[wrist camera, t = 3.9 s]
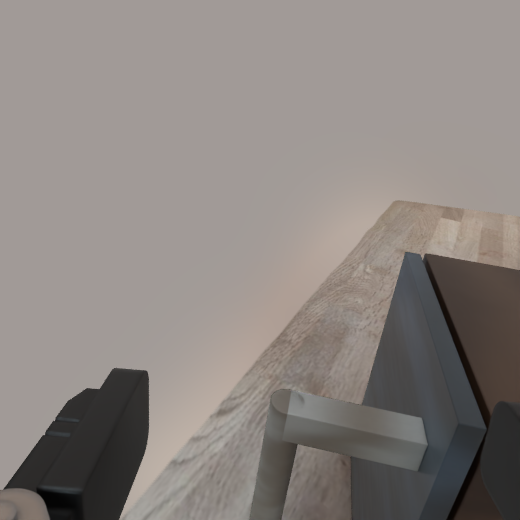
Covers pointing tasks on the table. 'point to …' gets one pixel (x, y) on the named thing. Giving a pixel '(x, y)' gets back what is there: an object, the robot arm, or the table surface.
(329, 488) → the table surface
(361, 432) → the door
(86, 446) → the robot arm
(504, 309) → the cupboard
